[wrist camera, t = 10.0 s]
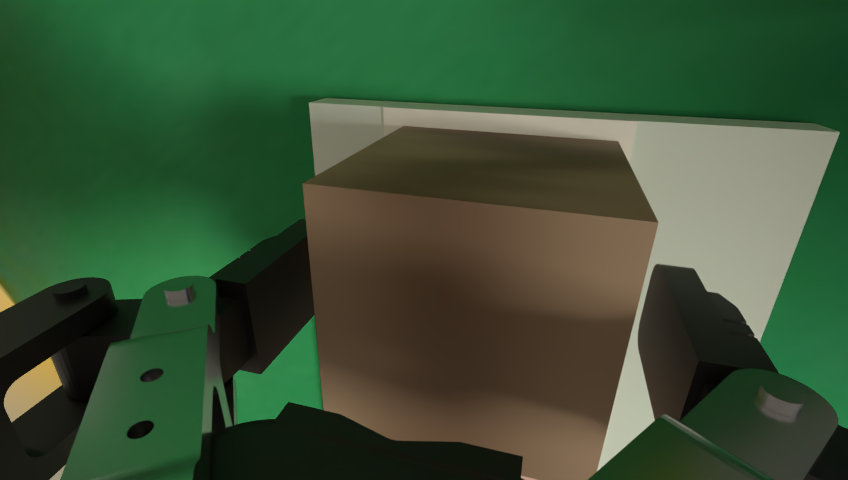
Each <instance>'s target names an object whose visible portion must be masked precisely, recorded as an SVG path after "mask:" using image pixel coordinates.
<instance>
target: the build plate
mask: <svg viewBox="0 0 848 480" xmlns="http://www.w3.org/2000/svg"><path fill="white" fill-rule="evenodd" d="M309 112H310V123H311V134H312V146H313V157H314V169H315V176H316V175H318V174H320V173H322V172H323V171H325V170H327V169H329V168H330V167H332V166H334V165H336V164H337V163H339V162H341V161H343V160H344V159H346V158H348V157H350V156H351V155H353V154H355V153H357V152H359V151H360V150H362V149H364V148H366V147H367V146H369V145H371V144H373V143H374V142H376V141H378V140H380V139H381V138H383V137H385V136H387V135H388V134H390V133H392V132H394V131H395V130H397V129H399V128H401V127H403V126H413V127H427V128H441V129H454V130H468V131H482V132H496V133H510V134H524V135H537V136H551V137H565V138H579V139H593V140H607V141H618V142H619V144H620V146H621V148H622V150H623V152H624V154H625V156H626V158H627V160H628V162H629V164H630V166H631V168H632V170H633V172H634V174H635V176H636V178H637V180H638V182H639V184H640V186H641V188H642V190H643V192H644V194H645V196H646V198H647V200H648V202H649V204H650V206H651V208H652V210H653V212H654V214H655V216H656V218H657V220H658V222H659V223H658V227H657V231H656V235H655V239H654V243H653V247H652V251H651V255H650V259H649V263H648V267H647V271H646V275H645V279H644V284H643V288H642V292H641V296H640V300H639V304H638V308H637V312H636V316H635V320H634V324H633V328H632V332H631V336H630V340H629V344H628V348H627V352H626V356H625V360H624V364H623V368H622V372H621V376H620V380H619V384H618V388H617V392H616V396H615V400H614V404H613V408H612V412H611V416H610V420H609V425H608V429H607V433H606V437H605V441H604V445H603V449H602V453H601V457H600V461H599V465H598V469H597V471H598V470H599V469H600V468H602V467H603V466H604V465H605V464H606V463H607V462H608V461H609V460H611V459H612V458H613V457H614V456H615V455H616V454H617V453H619V452H620V451H621V450H622V449H623V448H624V447H625V446H626V445H628V444H629V443H630V442H631V441H632V440H633V439H634V438H636V437H637V436H638V435H639V434H640V433H641V432H642V431H644V430H645V429H646V428H647V427H648V426H649V425H650V424H651V423H653V422H654V421H655V419H654V415H653V410H652V406H651V402H650V398H649V393H648V389H647V385H646V380H645V376H644V372H643V367H642V363H641V359H640V354H639V350H638V329H639V323H640V318H641V314H642V310H643V306H644V302H645V298H646V294H647V290H648V286H649V282H650V278H651V274H652V271H653V268H654V266H655V265H656V264H664V265H672V266H680V267H688V268H694V269H695V271H696V272H697V274H698V276H699V278H700V280H701V281H702V283H703V285H704V287H705V289H706V290H707V292H714V293H719V294H720V295H722V296H723V297H724V298H726V299H727V300H728V301H730V302H731V303H732V304H734V305H735V306H736V307H737V308H738V309H739V311H740V312H741V314H742V315H743V317H744V319H745V320H746V322H747V323H746V325H749V327H750V328H751V330H752V331H753V333H754V335H755V336H754V338H757V339H758V341H759V342H760V340H761V338H762V335H763V332H764V330H765V327H766V324H767V322H768V319H769V317H770V314H771V311H772V309H773V306H774V304H775V301H776V298H777V296H778V293H779V290H780V288H781V285H782V283H783V280H784V277H785V275H786V272H787V270H788V267H789V264H790V262H791V259H792V256H793V254H794V251H795V249H796V246H797V243H798V241H799V238H800V236H801V233H802V230H803V228H804V225H805V222H806V220H807V217H808V215H809V212H810V209H811V207H812V204H813V202H814V199H815V196H816V194H817V191H818V188H819V186H820V183H821V181H822V178H823V175H824V173H825V170H826V167H827V165H828V162H829V160H830V157H831V154H832V152H833V149H834V147H835V144H836V141H837V139H838V136H839V133H840V132H838V131H836V130H833V129H830V128H827V127H824V126H822V125H819V124H816V123H798V122H778V121H759V120H740V119H721V118H702V117H682V116H663V115H644V114H625V113H606V112H587V111H567V110H548V109H529V108H510V107H491V106H471V105H452V104H433V103H414V102H395V101H376V100H356V99H337V98H324V99H320V100H317V101H313V102H309ZM521 478H523V479H525V480H537V479H533V478H529V477H525V476H521Z"/></svg>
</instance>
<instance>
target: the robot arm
mask: <svg viewBox="0 0 848 480" xmlns="http://www.w3.org/2000/svg"><path fill="white" fill-rule="evenodd" d="M314 314H315V312H314V302H313V291H312V281H311V270H310V259H309V249H308V238H307V228H306V220H305V219H300V220H299V221H297V222H296V223H294V224H293V225H291V226H290V227H289V228H287V229H286V230H284V231H283V232H281V233H280V234H279V235H277V236H274V237H271V238H269V239H266V240H263V241H262V242H260V243H259V244H257V245H256V246H254V247H253V248H252V249H251V251H247V252H246V253H244V254H243V255H241V256H240V258H237V259H235V260H234V261H233V262H231V263H230V264H228V265H227V266H225V267H224V268H222V269H221V270H219V271H218V272H216V273H215V274H214V275H212V276H211V277H209V278H208V277H204V276H184V277H178V278H174V279H170V280H167V281H164V282H162V283H159V284H157V285H155V286H154V287H152V288H151V289H149V290H148V291H147V292H146V293H145V294H144V296H143V298H142V299H127V300H115V297H114V294H113V290H112V287H111V284H110V282H109V281H108V280H106V279H103V278H95V277H92V278H80V279H74V280H69V281H65V282H62V283H59V284H56V285H53V286H51V287H48V288H46V289H44V290H42V291H40V292H38V293H36V294H35V295H33V296H31V297H29V298H27V299H25V300H23V301H21V302H19V303H17V304H15V305H14V306H12V307H10V308H8V309H6V310H4V311H2V312H0V480H49V479H50V478H51V477H52V476H54V475H55V474H56V473H57V472H58V471H59V470H60V469H61V468H62V467H63V466H64V465H66V466H65V468H64V471H63V474H62V477H61V479H60V480H525V479H523V478H521V472H522V462H523V456H519V455H514V454H510V453H506V452H501V451H497V450H493V449H488V448H484V447H480V446H475V445H471V444H467V443H463V442H443V441H397V440H392V439H389V438H387V437H385V436H383V435H381V434H379V433H377V432H375V431H373V430H371V429H369V428H367V427H365V426H363V425H361V424H359V423H357V422H355V421H353V420H351V419H349V418H347V417H345V416H343V415H341V414H338V413H333V412H329V411H325V410H320V409H316V408H312V407H307V406H303V405H299V404H295V403H290V402H288V403H287V405H286V406H285V407H284V409H283V410H282V411H281V413H280V414H279V415H278V417H277V418H276V419H267V420H256V421H251V422H245V423H241V424H237V395H236V383H235V378H234V374H235V373H236V372H237V371H238V370H243V371H248V372H252V373H257V374H262V373H263V371H264V370H265V369H266V368H267V367H268V366H269V365H270V364H271V362H272V361H273V360H274V359H275V358H276V357H277V356H278V355H279V354H280V352H281V351H282V350H283V349H284V348H285V347H286V346H287V345H288V343H289V342H290V341H291V340H292V339H293V338H294V337H295V336H296V335H297V333H298V332H299V331H300V330H301V329H302V328H303V327H304V326H305V324H306V323H307V322H308V321H309V320H310V319H311V318H312V317H313V316H314ZM746 323H747V322H746V320H745V319H744V317H743V315H742V314H741V312H740V311H739V309H738V308H737V307H736V306H735V305H734V304H732V303H731V302H730V301H728V300H727V299H726V298H724V297H723V296H722V295H720V294H719V293H714V292H707V290H706V289H705V287H704V285H703V283H702V281H701V280H700V278H699V276H698V274H697V272H696V271H695V269H694V268H688V267H680V266H672V265H664V264H656V265H655V266H654V268H653V271H652V274H651V278H650V282H649V286H648V290H647V294H646V298H645V302H644V306H643V310H642V314H641V318H640V323H639V329H638V350H639V354H640V359H641V363H642V367H643V372H644V376H645V380H646V385H647V389H648V393H649V398H650V402H651V406H652V410H653V415H654V419H655V421H654V422H653V423H651V424H650V425H649V426H648V427H647V428H646V429H645V430H644V431H642V432H641V433H640V434H639V435H638V436H637V437H636V438H634V439H633V440H632V441H631V442H630V443H629V444H628V445H626V446H625V447H624V448H623V449H622V450H621V451H620V452H619V453H617V454H616V455H615V456H614V457H613V458H612V459H611V460H609V461H608V462H607V463H606V464H605V465H604V466H603V467H602V468H600V469H599V470H598V471H597V472H596V473H595V474H594V475H592V476H591V477H590V478H589V479H588V480H848V429H846V428H844V427H842V426H840V425H838V417H837V414H836V412H835V410H834V409H833V407H832V406H831V405H830V404H829V403H828V402H827V401H826V400H825V399H824V398H823V397H822V396H821V395H819V394H818V393H817V392H815V391H814V390H812V389H811V388H809V387H808V386H806V385H804V384H802V383H800V382H798V381H796V380H794V379H792V378H790V377H787V376H784V375H782V374H779V373H778V371H777V369H776V368H775V366H774V365H773V363H772V361H771V360H770V358H769V357H768V355H767V354H766V352H765V350H764V349H763V347H762V346H761V344H760V342H759V341H758V339H757V338H754V336H755V335H754V333H753V331H752V330H751V328H750V327H749V325H746ZM49 357H51V358H52V360H53V363H54V365H55V368H56V370H57V373H58V375H59V378H60V380H61V383H62V386H60V387H59V388H58V389H56V390H55V391H54V392H52V393H51V394H49V395H48V396H47V397H45V398H44V399H43V400H41V401H40V402H39V403H38V404H36V405H35V406H34V407H32V408H31V409H29V410H28V411H27V412H25V413H24V414H23V415H21V416H20V417H19V418H17V419H16V420H15V421H13V422H12V423H11V421H10V419H9V417H8V415H7V413H6V410H5V408H4V397H5V394H6V392H7V390H8V388H9V387H10V386H11V385H12V383H13V382H14V381H15V380H17V379H18V378H19V377H21V376H22V375H24V374H25V373H27V372H28V371H30V370H31V369H33V368H34V367H36V366H37V365H39V364H40V363H42V362H43V361H45V360H46V359H48V358H49Z"/></svg>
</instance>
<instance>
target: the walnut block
mask: <svg viewBox="0 0 848 480" xmlns="http://www.w3.org/2000/svg"><path fill="white" fill-rule="evenodd" d="M302 185H303V196H304V207H305V217H306V228H307V238H308V249H309V259H310V270H311V281H312V291H313V302H314V312H315V323H316V334H317V344H318V355H319V365H320V376H321V387H322V397H323V408H324V410H325V411H329V412H333V413H338V414H341V415H343V416H345V417H347V418H349V419H351V420H353V421H355V422H357V423H359V424H361V425H363V426H365V427H367V428H369V429H371V430H373V431H375V432H377V433H379V434H381V435H383V436H385V437H387V438H389V439H392V440H397V441H443V442H463V443H467V444H471V445H475V446H480V447H484V448H488V449H493V450H497V451H501V452H506V453H510V454H514V455H519V456H523V462H522V472H521V476H525V477H529V478H533V479H537V480H588V479H589V478H590V477H591V476H592V475H594V474H595V473H596V472H597V469H598V465H599V461H600V457H601V453H602V449H603V445H604V441H605V437H606V433H607V429H608V425H609V420H610V416H611V412H612V408H613V404H614V400H615V396H616V392H617V388H618V384H619V380H620V376H621V372H622V368H623V364H624V360H625V356H626V352H627V348H628V344H629V340H630V336H631V332H632V328H633V324H634V320H635V316H636V312H637V308H638V304H639V300H640V296H641V292H642V288H643V284H644V279H645V275H646V271H647V267H648V263H649V259H650V255H651V251H652V247H653V243H654V239H655V235H656V231H657V227H658V223H659V222H658V220H657V218H656V216H655V214H654V212H653V210H652V208H651V206H650V204H649V202H648V200H647V198H646V196H645V194H644V192H643V190H642V188H641V186H640V184H639V182H638V180H637V178H636V176H635V174H634V172H633V170H632V168H631V166H630V164H629V162H628V160H627V158H626V156H625V154H624V152H623V150H622V148H621V146H620V144H619V142H618V141H607V140H593V139H579V138H565V137H551V136H537V135H524V134H510V133H496V132H482V131H468V130H454V129H441V128H427V127H413V126H403V127H401V128H399V129H397V130H395V131H394V132H392V133H390V134H388V135H387V136H385V137H383V138H381V139H380V140H378V141H376V142H374V143H373V144H371V145H369V146H367V147H366V148H364V149H362V150H360V151H359V152H357V153H355V154H353V155H351V156H350V157H348V158H346V159H344V160H343V161H341V162H339V163H337V164H336V165H334V166H332V167H330V168H329V169H327V170H325V171H323V172H322V173H320V174H318V175H316V176H315V177H313V178H311V179H309V180H307V181H306V182H304V183H302Z"/></svg>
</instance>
